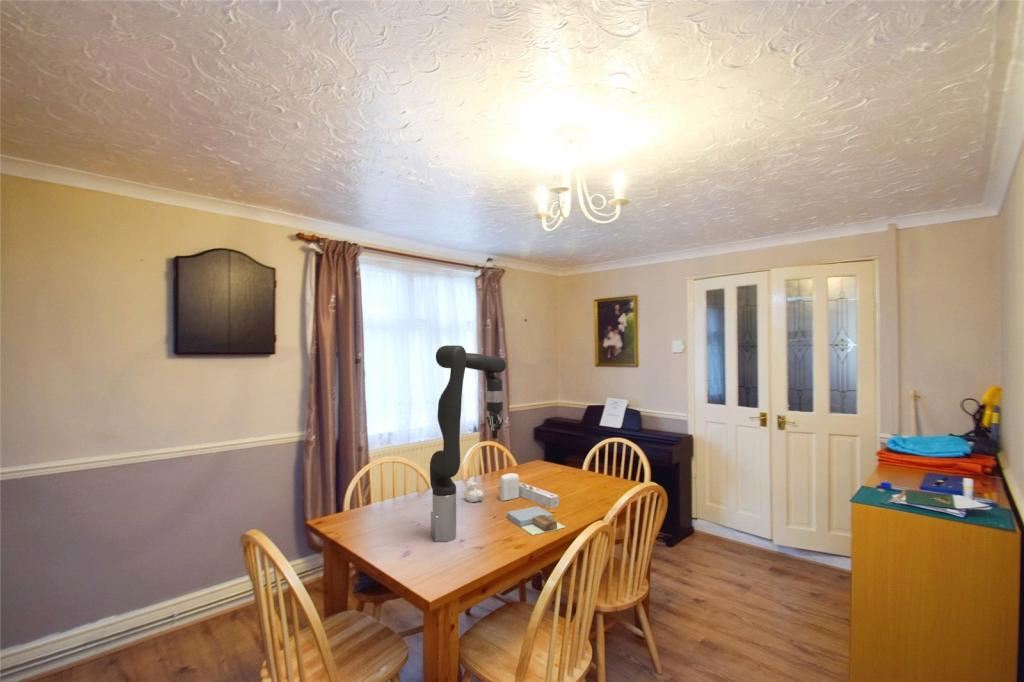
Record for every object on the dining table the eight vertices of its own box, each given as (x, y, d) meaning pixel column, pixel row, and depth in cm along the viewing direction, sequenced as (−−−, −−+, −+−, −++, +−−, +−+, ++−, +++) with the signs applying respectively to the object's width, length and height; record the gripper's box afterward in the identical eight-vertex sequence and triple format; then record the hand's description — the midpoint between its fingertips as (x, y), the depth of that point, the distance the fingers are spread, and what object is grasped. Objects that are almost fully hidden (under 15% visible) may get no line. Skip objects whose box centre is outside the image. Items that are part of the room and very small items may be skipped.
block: (544, 531, 176) (544, 524, 176) (532, 524, 184) (532, 517, 184) (556, 528, 179) (556, 521, 179) (544, 521, 187) (544, 514, 187)
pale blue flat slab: (520, 527, 182) (520, 521, 182) (507, 517, 192) (506, 512, 192) (552, 520, 189) (552, 514, 189) (538, 511, 200) (537, 506, 200)
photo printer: (515, 495, 222) (515, 471, 223) (520, 498, 219) (520, 473, 219) (498, 499, 217) (498, 474, 217) (502, 502, 213) (502, 476, 213)
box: (559, 506, 207) (559, 494, 207) (551, 509, 203) (551, 497, 204) (521, 492, 228) (521, 481, 228) (513, 494, 225) (513, 483, 225)
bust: (462, 503, 217) (454, 489, 212) (469, 491, 223) (461, 476, 217) (482, 507, 211) (474, 493, 205) (489, 494, 216) (481, 480, 211)
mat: (532, 535, 173) (532, 534, 173) (521, 527, 181) (521, 526, 181) (565, 527, 181) (565, 527, 181) (553, 520, 189) (553, 519, 189)
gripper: (481, 399, 206) (481, 437, 205) (493, 402, 194) (493, 441, 194) (495, 399, 210) (495, 435, 209) (508, 401, 198) (508, 440, 197)
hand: (494, 438), depth 201 cm, fingers closed
